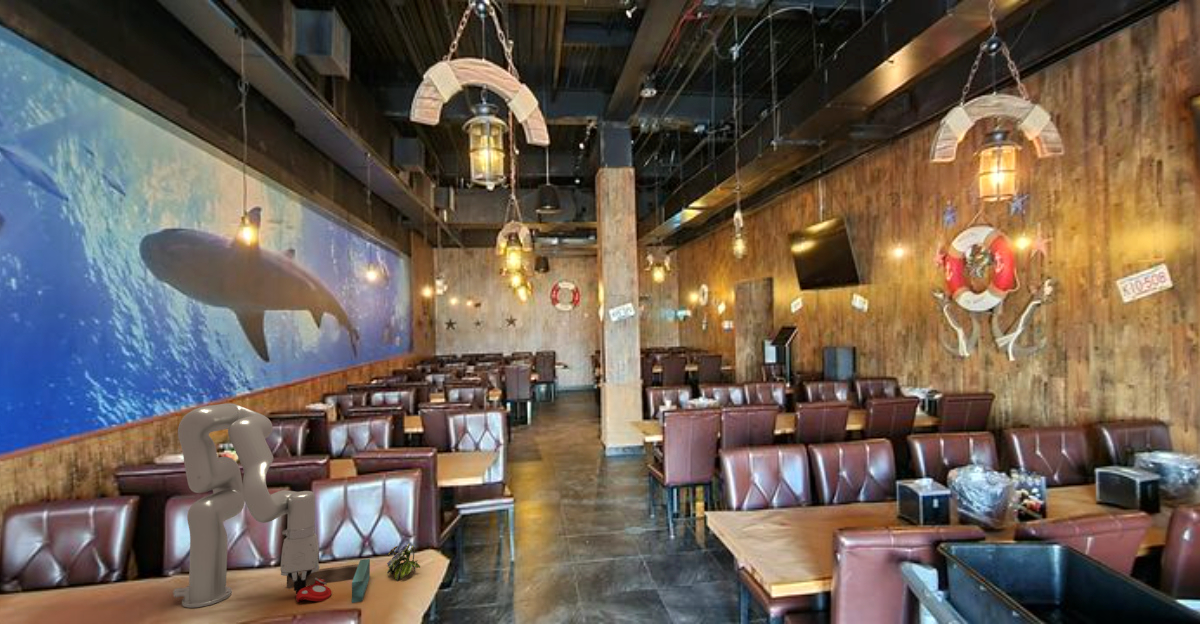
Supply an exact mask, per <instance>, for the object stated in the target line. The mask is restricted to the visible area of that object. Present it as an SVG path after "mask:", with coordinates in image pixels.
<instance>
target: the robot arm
mask: <svg viewBox="0 0 1200 624" xmlns="http://www.w3.org/2000/svg"><path fill="white" fill-rule="evenodd" d="M272 423H273V422H272V421H271V420H270V419H269V418H268V417H267V416H265V415H264V414H262V413H259V412H258V411H255V410H253V409H249V408H247V407H244V406H241V405H239V404H237V403H230V402H229V403H220V404H210V405H205V406H200V407H198V408H197V407H196V408H195V409H192V410H191V411H189V412H188V413H186V414H185V415H184V416H183V418H182V419H181V420H180V422H179V425H178V427H177V436H178V437H177V438H178V441H179V444H180V446H181V451H182V456H183V463H184V468H185V474H186V479H187V480H186V481H187V485H188V487H189V490H191V491H192V492H193V493H196V494H202V493H206V492H210V491H212V493H211V494H208V495H206V496H203V497H201V498H200V499H198V500H196V501H195V502H194V503H193V504H191V506H190V507H189V509H188V511H187V516H186V517H187V525H188V531H189V540H190V541H189V545H190V546H189V569H188V571H189V573H188V574H189V575H188V585H187V586H186V587H178V588H174V589H173V591H172V595H173V597H174V598H180V597H183V598H182V600H181V605H182V607H185V608H187V609H190V608H191V609H192V608H195V609H196V608H201V607H206V606H211V605H213V604H214V605H215V604H217V603H219V602H220V603H221V602H222V601H224V600H225V599H228V598H229V597H230V596H231V595H232V593H233V589H232V588H231V587H230V586H227V571H228V570H227V566H228V565H227V563H228V559H227V558H228V533H227V531H226V530H227V529H226V527H225V525H224V522H225V521H228V520H229V519H231V518H233V517H235V516H237V515H239V514H240V513H241V512H242V510H243V509H244V507H245V505H246V507H247V509H248V511H249V513H250V516H252V518H253V519H254V520H256V521H257V522H259V523H262V524H263V523H264V524H266V523H270V522H273V521H274V520H277V519H279V518H280V517H283V516H285V515H287V528H286V529H284V530H282V532H281V535H282V536H286V537H285V538H284V539H283V543H282V548H281V556H280V557H281V558H280V576H284V577H287V576H289V577H290V578H292V579H293V581H294V587H293V591H294V592H295V595H297V593H298V592H299V590H300V589H302V588H304V587H307V585H306V578H307V576H308V575H309V574H310V573H313V572H316V571H318V570H319V569H320V564H319V561H320V551H319V550H320V549H319V540H318V535H317V533H315V523H316V522H315V520H316V518H315V513H316V510H315V508H316V505H315V504H316V496H315V493H314V492H313V491H311V490H303V491H294V490H285V489H282V490H278V491H276V492H274V493H270V492H269V490H268V487H267V473H268V470H269V469H270V467H271V465H272V464H273V461H274V455H273V453H272V451H271V449H270V447H269V445H268V443H267V440H266V439H268V437H270V435H272V433H273V432H272V431H273V430H274V429H273V424H272ZM224 430H227V435H228V437H229V440H230V442H231V445H232V446H233V450H234V451H235V453H236V455H237V458H238V460H239V462H240V464H241V465H240V466H242V469H243V477H242V473H241V468H240V466H239V463H237V462H236V460H235V459H234V458H231V457H229V456H219V457H218V453H217V447H216V446H217V445H216V443H215V441H214V440H213V439H212V437H211V436H210V434H211V433H213V432H214V433H215V432H219V431H224ZM301 571H302V577H301V578H300V576H299V572H301Z"/></svg>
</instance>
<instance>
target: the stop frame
mask: <svg viewBox="0 0 1200 624" xmlns="http://www.w3.org/2000/svg"><path fill="white" fill-rule="evenodd" d="M370 566H371V559H370V558H364V559H360V560H359V563H357V564H356V563H355V564H349V565H343V566H341V565H340V566H333V567H325V568H319V570H318V571H316V572H313V573H310V574H309V575H308V576H307V578H306V586H310V585H313V584H315V581H316V580H315V578H317V579H323V580H325V583H327V584H328V583H334V582H342V581H348V580H349V581H350V580H352V581H351V604H354V603H360V602H363V601H364V597H365V594H366V591H367V587H368V583H369V580H370V577H371V573H370V572H371V567H370ZM299 576H300V578H301V577H302V571H301V572H299ZM290 588H291V589H292V588H294V581H293V579H292V578H290V577H289V576H286V589H290Z"/></svg>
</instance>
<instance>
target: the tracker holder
mask: <svg viewBox="0 0 1200 624" xmlns="http://www.w3.org/2000/svg"><path fill="white" fill-rule="evenodd" d="M315 580H316V581H315V584H313V585H306V587H304V588H302V589H300V590H299V592H298V593H297V594H295V600H296V602H297V603H301V602H302V601H305V600H306V601H312V602H323V601H324V602H325V601H326V600H328V599H329V598H330V597H331V596H332V590H331V588H330V587H329V586H327V584H328V583H325V580H323V579H317V578H315Z"/></svg>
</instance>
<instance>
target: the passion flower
mask: <svg viewBox="0 0 1200 624" xmlns="http://www.w3.org/2000/svg"><path fill="white" fill-rule="evenodd" d="M410 545H411V543H408V544H406V545H404V546H403V547H402V548H401V549H400V550H399V551H397V552H395V550H396V549H397V548H398V545H396V546H394V547H393V548H391V549H390V551H389V552H388V554H387V556H388V557H389V556H391V555H392V554H394V555H393V556H392V558H391V559H390V560H389V561H388V562H387V563H386V564H387V565H386V568H388V570H387V572H386V573H387V574H394V580H396V581H399V577H400V579H403V578H404V577H405V576H408V575H409V574H410V573H411V571H412V569H413V572H414V573H416V568H419V569H420V568H421V565H420V564H419V563H418V560H415V552H416V551H415V550H416V547H415V546H414V545H411V547H410ZM411 553H412V560H410V557H411ZM402 561H403V562H402Z"/></svg>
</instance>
